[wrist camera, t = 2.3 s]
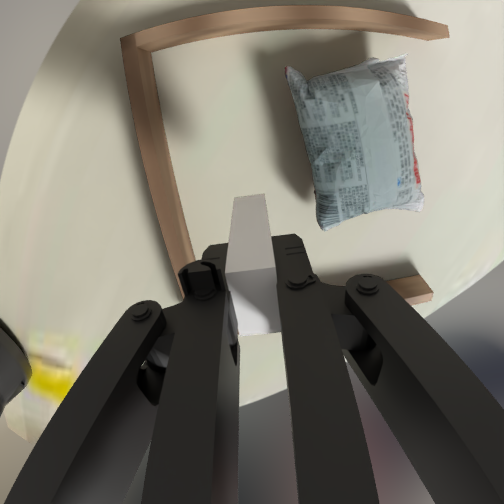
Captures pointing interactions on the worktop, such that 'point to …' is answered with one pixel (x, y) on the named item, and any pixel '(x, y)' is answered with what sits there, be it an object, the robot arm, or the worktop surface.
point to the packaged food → (358, 139)
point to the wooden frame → (224, 24)
